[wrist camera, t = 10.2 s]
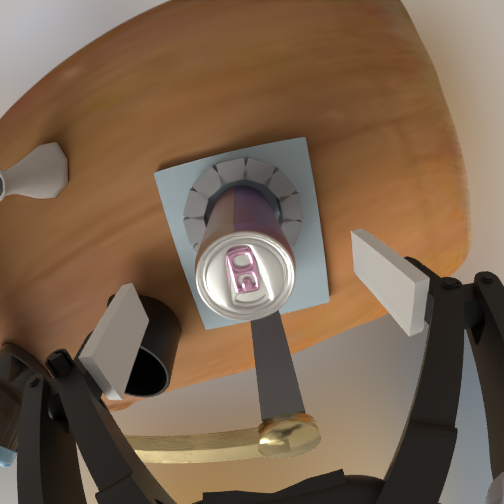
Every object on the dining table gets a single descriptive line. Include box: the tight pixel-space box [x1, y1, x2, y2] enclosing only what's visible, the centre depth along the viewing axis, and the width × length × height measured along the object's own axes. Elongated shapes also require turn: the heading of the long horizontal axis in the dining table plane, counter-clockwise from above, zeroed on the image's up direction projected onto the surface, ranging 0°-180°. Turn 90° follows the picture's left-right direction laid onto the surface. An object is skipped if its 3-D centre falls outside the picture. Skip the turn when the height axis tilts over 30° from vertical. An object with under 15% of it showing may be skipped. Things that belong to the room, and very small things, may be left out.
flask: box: [0, 142, 68, 201], centre depth 22 cm, size 7×7×10 cm
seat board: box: [154, 137, 330, 422], centre depth 22 cm, size 16×20×20 cm
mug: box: [107, 294, 180, 397], centre depth 31 cm, size 9×12×9 cm
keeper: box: [124, 413, 321, 463], centre depth 14 cm, size 4×16×1 cm, turn 102°
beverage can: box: [195, 186, 296, 321], centre depth 23 cm, size 6×6×15 cm
